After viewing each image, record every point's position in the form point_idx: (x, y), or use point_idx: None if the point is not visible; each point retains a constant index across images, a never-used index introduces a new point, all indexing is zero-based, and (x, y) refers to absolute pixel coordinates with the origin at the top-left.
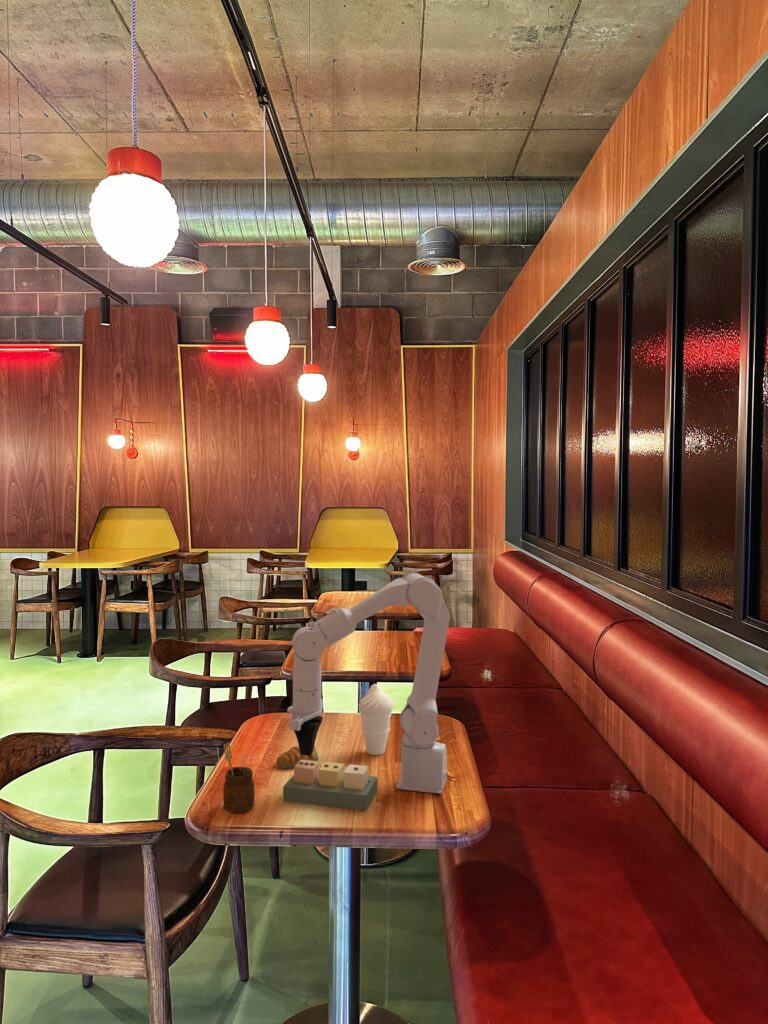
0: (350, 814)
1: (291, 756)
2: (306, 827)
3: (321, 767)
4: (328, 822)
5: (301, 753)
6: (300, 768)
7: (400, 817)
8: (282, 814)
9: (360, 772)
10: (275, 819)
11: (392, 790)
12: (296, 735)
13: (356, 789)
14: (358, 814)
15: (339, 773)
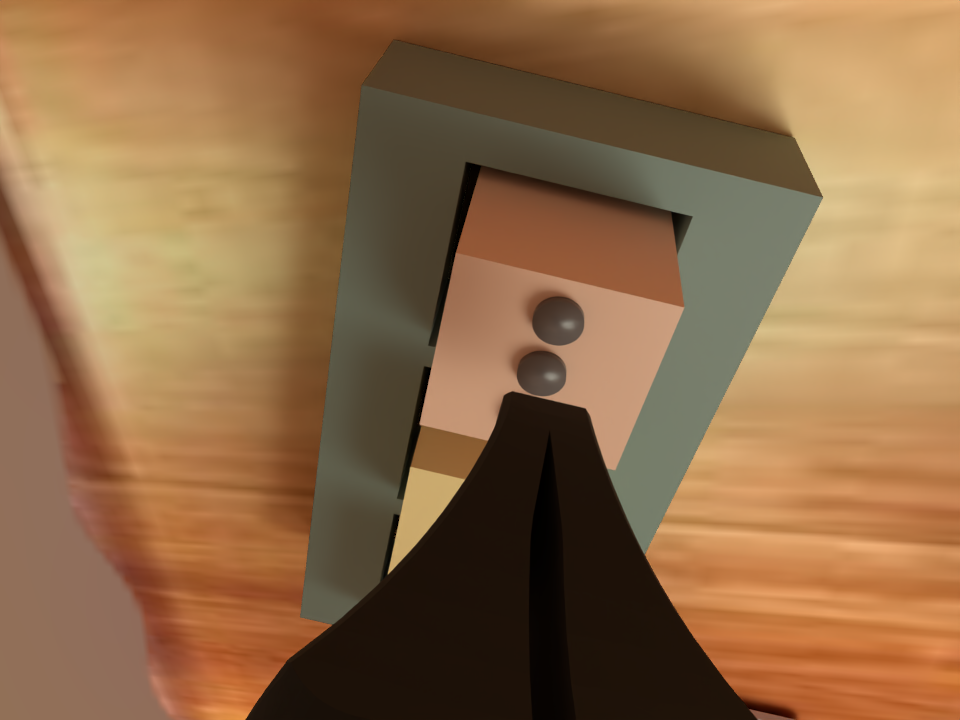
0: (270, 476)
1: None
2: (36, 257)
3: (459, 486)
4: (142, 373)
5: (501, 407)
6: (445, 312)
7: (288, 651)
8: (162, 67)
9: None
10: (65, 21)
11: None
12: (404, 562)
13: (377, 581)
14: (279, 509)
15: None
